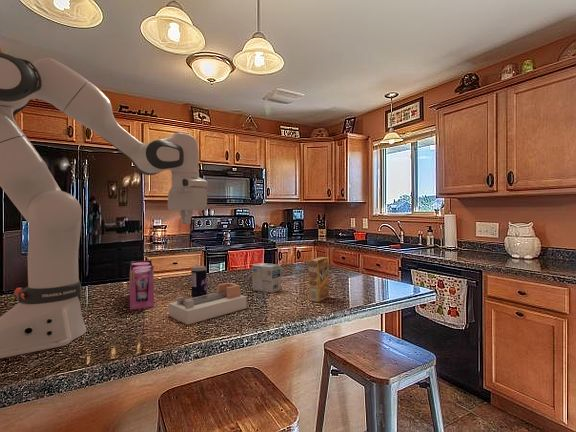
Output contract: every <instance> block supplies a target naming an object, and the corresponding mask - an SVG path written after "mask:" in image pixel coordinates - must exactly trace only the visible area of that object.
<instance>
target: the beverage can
mask: <svg viewBox="0 0 576 432" xmlns="http://www.w3.org/2000/svg"><path fill="white" fill-rule="evenodd" d="M190 276H191V277H190V279H191V283H190V284H191V289H190V290H191V297H192V298H195V297H200V296H204V295H208V286H207V285H208V284H207V281H208V280H207V279H208V277H207V268H206V266H205V265H193V266H192V268H191V271H190Z"/></svg>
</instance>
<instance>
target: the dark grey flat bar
mask: <svg viewBox="0 0 576 432" xmlns="http://www.w3.org/2000/svg"><path fill="white" fill-rule="evenodd" d="M223 297H227V296H226V291H223V292H218V293H217V292H214V294H213V293H210V295H209V294H207V295H205V296H201V297H197V298H193V297H192V299H190V298H188V300H194V305H195V304H199V303H203V302H207V301H211V300H215V299H219V298H223ZM188 300H186V299H185V300H184V301H181V304H183V305H186V301H188Z"/></svg>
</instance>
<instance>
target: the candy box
mask: <svg viewBox="0 0 576 432" xmlns="http://www.w3.org/2000/svg"><path fill="white" fill-rule="evenodd" d="M329 262H330V261H329V257H324V256H318V257H316V258H312V259H308V288H309V289H308V290H309V291H308V292H309V299H308V300H309V302H316V303H319V302H322V301H323V300H325V299H328V298H329V297H330V282H329V281H330V280H329V279H330V277H329V275H330V273H329V270H330V269H329V268H330V266H329ZM327 297H328V298H327Z"/></svg>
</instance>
